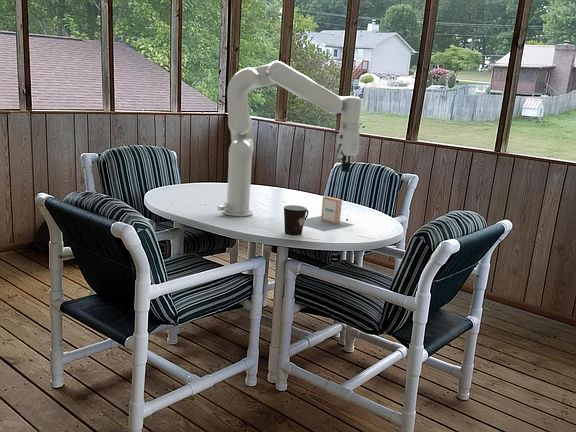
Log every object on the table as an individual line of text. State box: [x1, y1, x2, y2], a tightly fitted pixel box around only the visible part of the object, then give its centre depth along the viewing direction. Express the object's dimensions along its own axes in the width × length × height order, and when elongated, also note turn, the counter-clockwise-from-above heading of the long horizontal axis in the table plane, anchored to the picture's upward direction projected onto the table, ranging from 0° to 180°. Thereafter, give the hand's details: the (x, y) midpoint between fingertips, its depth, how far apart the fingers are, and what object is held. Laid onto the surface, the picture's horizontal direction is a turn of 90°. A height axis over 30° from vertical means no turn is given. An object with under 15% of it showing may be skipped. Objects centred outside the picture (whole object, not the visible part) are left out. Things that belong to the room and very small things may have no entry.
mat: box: [303, 215, 354, 232], centre depth 228 cm, size 20×18×1 cm
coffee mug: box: [283, 204, 309, 237], centre depth 210 cm, size 12×9×10 cm
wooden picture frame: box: [320, 195, 343, 224], centre depth 231 cm, size 3×8×10 cm, turn 47°
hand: (345, 171), depth 233 cm, fingers closed
